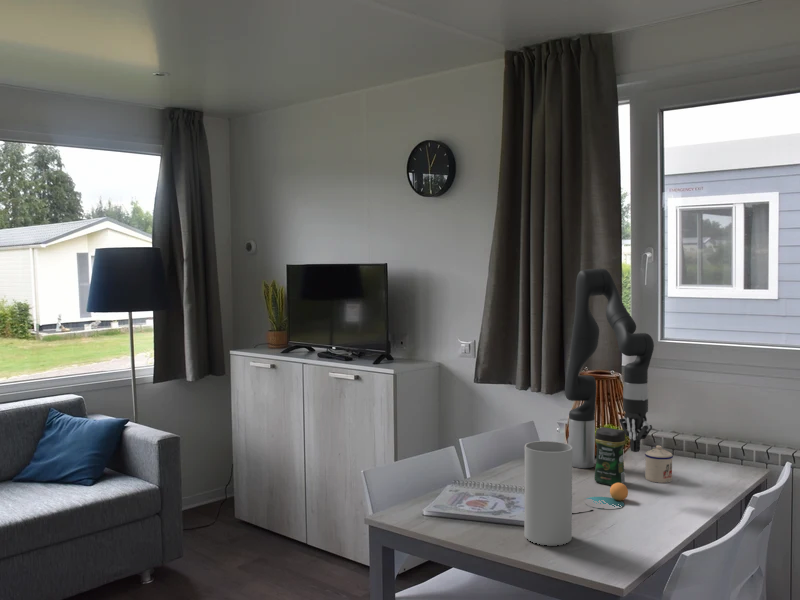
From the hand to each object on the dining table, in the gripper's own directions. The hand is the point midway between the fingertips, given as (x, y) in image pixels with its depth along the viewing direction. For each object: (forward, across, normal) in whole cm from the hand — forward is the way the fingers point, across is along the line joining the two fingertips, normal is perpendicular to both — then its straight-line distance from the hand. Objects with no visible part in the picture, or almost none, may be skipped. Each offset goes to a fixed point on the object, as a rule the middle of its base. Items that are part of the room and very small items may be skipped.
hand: (635, 451), depth 233 cm
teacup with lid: (+15, -14, +23) cm, 31 cm away
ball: (+12, 0, -6) cm, 14 cm away
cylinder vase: (+15, +18, -45) cm, 51 cm away
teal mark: (+15, 0, -12) cm, 19 cm away
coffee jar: (+15, -17, +4) cm, 23 cm away
